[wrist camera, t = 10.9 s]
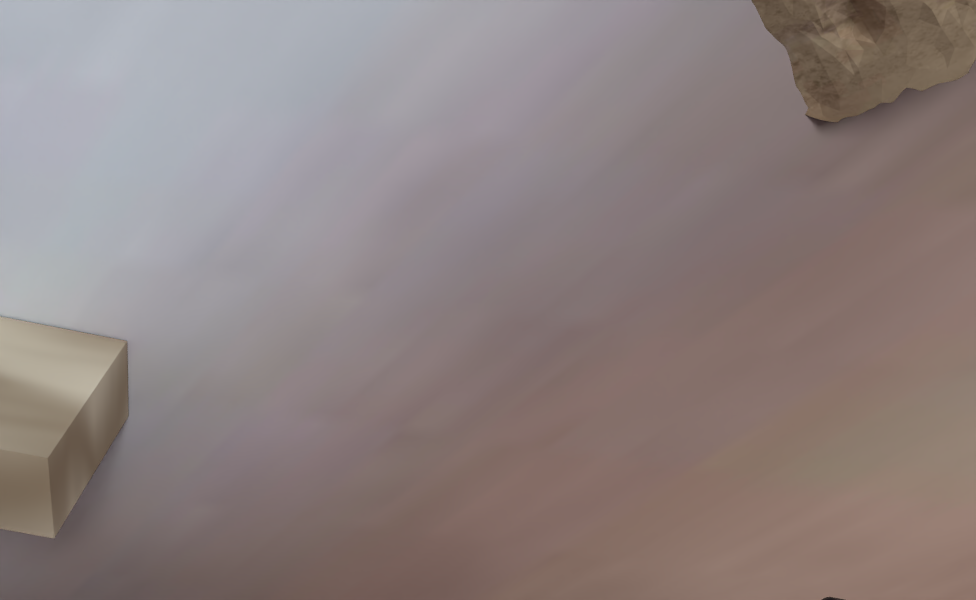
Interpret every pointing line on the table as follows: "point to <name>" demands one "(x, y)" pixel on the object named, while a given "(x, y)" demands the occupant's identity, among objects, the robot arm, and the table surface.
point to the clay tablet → (870, 48)
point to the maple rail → (54, 419)
